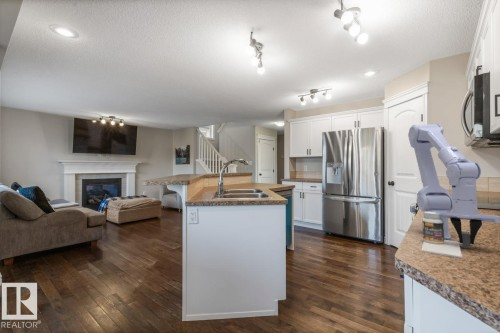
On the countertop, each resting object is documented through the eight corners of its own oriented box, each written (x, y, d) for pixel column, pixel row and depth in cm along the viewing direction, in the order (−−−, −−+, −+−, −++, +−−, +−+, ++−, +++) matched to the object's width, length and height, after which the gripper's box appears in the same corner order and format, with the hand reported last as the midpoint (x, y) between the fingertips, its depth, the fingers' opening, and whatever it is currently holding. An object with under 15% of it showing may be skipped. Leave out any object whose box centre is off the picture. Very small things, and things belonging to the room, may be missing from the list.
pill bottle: (425, 243, 74) (423, 213, 75) (421, 238, 80) (420, 210, 80) (447, 245, 72) (445, 214, 72) (441, 240, 77) (440, 211, 77)
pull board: (424, 238, 81) (424, 226, 82) (469, 244, 74) (468, 230, 74) (421, 251, 68) (420, 236, 68) (475, 260, 60) (474, 243, 60)
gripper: (434, 199, 73) (436, 241, 72) (500, 202, 63) (503, 251, 63) (434, 197, 78) (436, 236, 77) (496, 200, 68) (498, 244, 68)
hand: (466, 242), depth 70 cm, fingers closed on pull board, 2 cm apart
